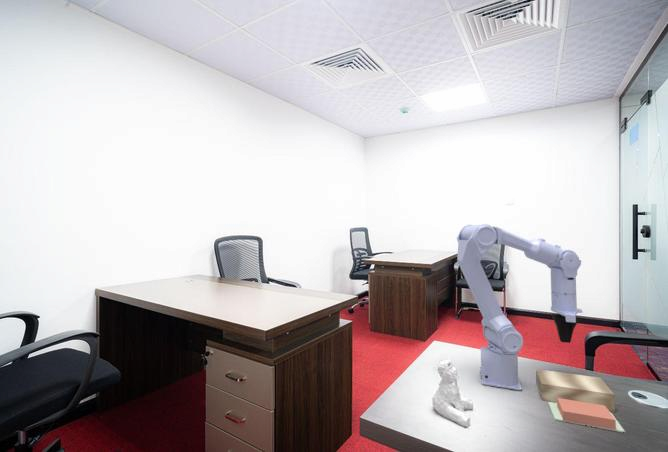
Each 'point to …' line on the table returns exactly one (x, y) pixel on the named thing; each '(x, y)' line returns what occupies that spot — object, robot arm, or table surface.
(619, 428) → the mat
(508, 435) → the table surface
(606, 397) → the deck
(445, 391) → the seated beast figurine
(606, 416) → the salmon pink block
